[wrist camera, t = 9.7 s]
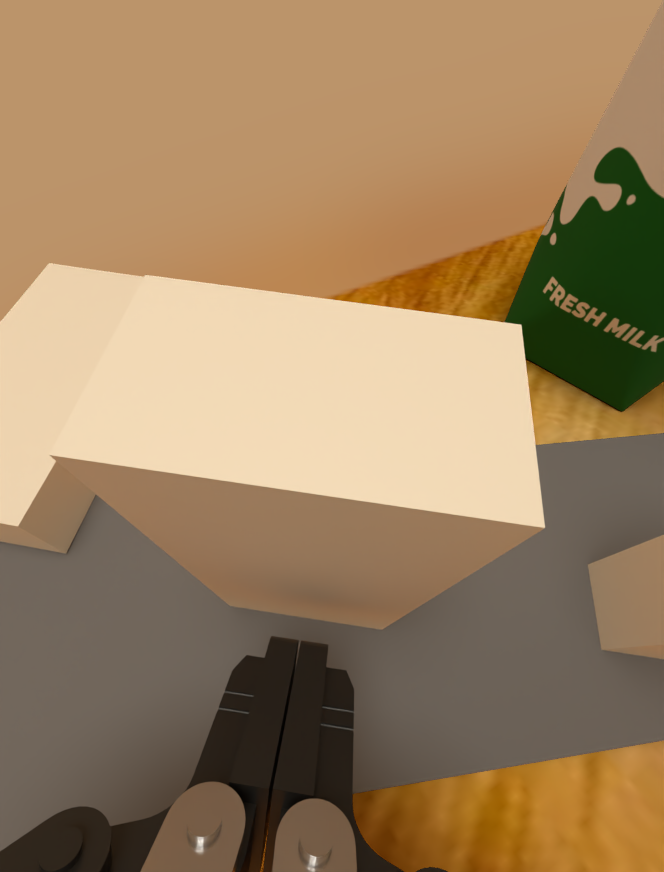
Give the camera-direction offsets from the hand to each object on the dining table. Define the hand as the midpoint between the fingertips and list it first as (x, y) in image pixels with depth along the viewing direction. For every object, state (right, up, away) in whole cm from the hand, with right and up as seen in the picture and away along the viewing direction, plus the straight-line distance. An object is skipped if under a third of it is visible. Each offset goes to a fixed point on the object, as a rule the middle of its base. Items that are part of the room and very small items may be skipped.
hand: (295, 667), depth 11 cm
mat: (+1, 0, +5) cm, 5 cm away
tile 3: (-12, +3, +4) cm, 13 cm away
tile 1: (0, +1, +5) cm, 5 cm away
